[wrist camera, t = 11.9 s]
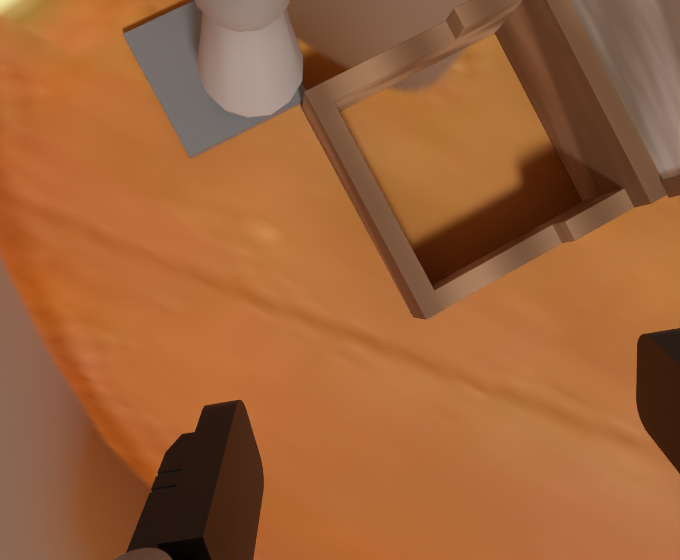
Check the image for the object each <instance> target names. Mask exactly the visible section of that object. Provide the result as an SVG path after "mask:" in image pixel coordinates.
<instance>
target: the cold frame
mask: <svg viewBox="0 0 680 560" xmlns="http://www.w3.org/2000/svg"><path fill="white" fill-rule="evenodd" d="M494 33H495V34H496V36H497V38H498V40H499V42H500V44H501V46H502V48H503V49H504V51H505V53H506V55H507V57H508V59H509V61H510V63H511V65H512V67H513V69H514V71H515V73H516V74H517V76H518V78H519V80H520V82H521V84H522V86H523V88H524V90H525V92H526V94H527V96H528V98H529V99H530V101H531V103H532V105H533V107H534V109H535V111H536V113H537V115H538V117H539V119H540V121H541V123H542V124H543V126H544V128H545V130H546V132H547V134H548V136H549V138H550V140H551V142H552V144H553V146H554V148H555V149H556V151H557V153H558V155H559V157H560V159H561V161H562V163H563V165H564V167H565V169H566V171H567V173H568V174H569V176H570V178H571V180H572V182H573V184H574V186H575V188H576V190H577V192H578V194H579V196H580V198H581V200H582V201H581V202H580V203H578V204H576V205H574V206H572V207H571V208H569V209H567V210H565V211H563V212H562V213H560V214H558V215H556V216H554V217H553V218H551V219H549V220H547V221H545V222H544V223H542V224H540V225H538V226H537V227H535V228H533V229H531V230H529V231H528V232H526V233H524V234H522V235H520V236H519V237H517V238H515V239H513V240H511V241H510V242H508V243H506V244H504V245H502V246H501V247H499V248H497V249H495V250H493V251H492V252H490V253H488V254H486V255H484V256H483V257H481V258H479V259H477V260H475V261H474V262H472V263H470V264H468V265H466V266H465V267H463V268H461V269H459V270H457V271H456V272H454V273H452V274H450V275H448V276H447V277H445V278H443V279H441V280H439V281H438V282H436V283H434V284H432V285H431V283H430V281H429V279H428V277H427V276H426V274H425V272H424V270H423V268H422V266H421V264H420V262H419V261H418V259H417V257H416V255H415V253H414V251H413V249H412V247H411V246H410V244H409V242H408V240H407V238H406V236H405V234H404V232H403V231H402V229H401V227H400V225H399V223H398V221H397V219H396V217H395V216H394V214H393V212H392V210H391V208H390V206H389V204H388V202H387V201H386V199H385V197H384V195H383V193H382V191H381V189H380V187H379V186H378V184H377V182H376V180H375V178H374V176H373V174H372V172H371V171H370V169H369V167H368V165H367V163H366V161H365V159H364V157H363V156H362V154H361V152H360V150H359V148H358V146H357V144H356V142H355V141H354V139H353V137H352V135H351V133H350V131H349V129H348V127H347V126H346V124H345V122H344V120H343V118H342V116H341V114H340V111H342V110H344V109H346V108H348V107H350V106H352V105H354V104H356V103H358V102H360V101H362V100H364V99H366V98H368V97H370V96H372V95H374V94H375V93H377V92H379V91H381V90H383V89H385V88H387V87H389V86H391V85H393V84H395V83H397V82H399V81H401V80H403V79H405V78H407V77H409V76H411V75H413V74H415V73H417V72H419V71H421V70H422V69H425V68H427V67H429V66H431V65H433V64H435V63H437V62H439V61H440V60H442V59H444V58H446V57H448V56H450V55H452V54H454V53H456V52H458V51H460V50H462V49H464V48H466V47H468V46H470V45H472V44H474V43H476V42H478V41H480V40H482V39H484V38H486V37H488V36H490V35H492V34H494ZM302 110H303V112H304V114H305V116H306V117H307V119H308V121H309V123H310V125H311V127H312V129H313V131H314V132H315V134H316V136H317V138H318V140H319V142H320V144H321V145H322V147H323V149H324V151H325V153H326V155H327V157H328V159H329V160H330V162H331V164H332V166H333V168H334V170H335V172H336V173H337V175H338V177H339V179H340V181H341V183H342V185H343V187H344V188H345V190H346V192H347V194H348V196H349V198H350V200H351V201H352V203H353V205H354V207H355V209H356V211H357V213H358V215H359V216H360V218H361V220H362V222H363V224H364V226H365V228H366V229H367V231H368V233H369V235H370V237H371V239H372V241H373V243H374V244H375V246H376V248H377V250H378V252H379V254H380V256H381V257H382V259H383V261H384V263H385V265H386V267H387V269H388V271H389V272H390V274H391V276H392V278H393V280H394V282H395V284H396V285H397V287H398V289H399V291H400V293H401V295H402V297H403V299H404V300H405V302H406V304H407V306H408V308H409V310H410V312H411V313H412V315H413V317H415V318H421V319H428V318H430V317H431V316H433V315H435V314H437V313H439V312H440V311H442V310H444V309H446V308H447V307H449V306H451V305H453V304H455V303H456V302H458V301H460V300H462V299H463V298H465V297H467V296H469V295H471V294H472V293H474V292H476V291H478V290H479V289H481V288H483V287H485V286H486V285H488V284H490V283H492V282H494V281H495V280H497V279H499V278H501V277H502V276H504V275H506V274H508V273H510V272H511V271H513V270H515V269H517V268H518V267H520V266H522V265H524V264H526V263H527V262H529V261H531V260H533V259H534V258H536V257H538V256H540V255H542V254H543V253H545V252H547V251H549V250H550V249H552V248H554V247H556V246H557V245H559V244H561V243H565V242H571V241H576V240H577V239H579V238H581V237H583V236H584V235H586V234H588V233H590V232H592V231H593V230H595V229H597V228H599V227H600V226H602V225H604V224H606V223H607V222H609V221H611V220H613V219H615V218H616V217H618V216H620V215H622V214H623V213H625V212H627V211H629V210H630V209H632V208H634V207H638V206H642V205H647V204H651V203H653V202H655V201H656V200H658V199H660V198H662V197H663V196H665V195H668V197H669V198H670V197H674V196H678V195H680V0H469V1H467V2H465V3H464V4H462V5H459V6H457V7H455V8H454V9H453V11H452V12H451V14H450V15H449V17H448V18H447V20H446V21H445V22H443V23H441V24H439V25H437V26H435V27H433V28H431V29H429V30H427V31H425V32H423V33H421V34H419V35H417V36H415V37H413V38H411V39H409V40H407V41H405V42H403V43H401V44H399V45H397V46H395V47H393V48H391V49H389V50H387V51H385V52H383V53H381V54H379V55H377V56H375V57H373V58H371V59H369V60H367V61H365V62H363V63H361V64H359V65H357V66H355V67H353V68H351V69H349V70H347V71H345V72H343V73H341V74H339V75H337V76H335V77H333V78H331V79H329V80H327V81H325V82H323V83H321V84H319V85H317V86H315V87H313V88H311V89H309V90H307V91H305V92H304V97H303V104H302Z"/></svg>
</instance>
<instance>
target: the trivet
mask: <svg viewBox="0 0 680 560" xmlns="http://www.w3.org/2000/svg"><path fill="white" fill-rule="evenodd" d="M202 13H203V12H202V11H201V10H200V9H199V8H198V7H197V5H196V2H195V0H194V1H192V2H190V3H188V4H185V5H183V6H181V7H179V8H177V9H175V10H173V11H170V12H168V13H166V14H164V15H162V16H160V17H158V18H156V19H153V20H151V21H149V22H147V23H145V24H143V25H141V26H139V27H136V28H134V29H132V30H130V31H128V32H126V33H124V34H123V36H124V37H125V39H126V41H127V43H128V45H129V47H130V48H131V50H132V52H133V54H134V56H135V58H136V60H137V61H138V63H139V65H140V67H141V69H142V71H143V72H144V74H145V76H146V78H147V80H148V82H149V83H150V85H151V87H152V89H153V91H154V93H155V94H156V96H157V98H158V100H159V102H160V104H161V105H162V107H163V109H164V111H165V113H166V115H167V116H168V118H169V120H170V122H171V124H172V126H173V127H174V129H175V131H176V133H177V135H178V137H179V138H180V140H181V142H182V144H183V146H184V148H185V149H186V151H187V153H188V155H189V157H190V158H193V157H195V156H197V155H199V154H201V153H203V152H205V151H207V150H209V149H211V148H213V147H215V146H217V145H219V144H221V143H223V142H225V141H227V140H229V139H231V138H233V137H235V136H237V135H239V134H241V133H243V132H245V131H247V130H249V129H251V128H253V127H255V126H257V125H259V124H261V123H263V122H265V121H267V120H269V119H271V118H273V117H275V116H277V115H279V114H281V113H283V112H285V111H287V110H289V109H291V108H293V107H295V106H297V105H299V104H301V103H303V97H304V92H305V91H307V90H306V88H305V86H304V84H303V82H301V84H300V86H299V87H298V89H297V91H296V92H295V94H294V95H293V97H292V99H291V100H290V102H289V103H287V104H286V105H285V106H283V107H282V108H280V109H279V110H277V111H276V112H275V113H273V114H272V115H268V116H259V117H250V118H247V117H244V116H241V115H237V114H234V113H231V112H227V111H225V110H224V109H223V108H222V107H221V106H220V105H219V104H218V103H217V102H216V101H215V100H213V99H212V98H211V97H210V96H209V95H208V94H207V93H206V90H205V88H204V86H203V83H202V81H201V78H200V76H199V74H198V71H197V65H198V51H199V42H200V34H201V24H202Z"/></svg>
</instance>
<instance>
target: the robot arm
mask: <svg viewBox="0 0 680 560" xmlns="http://www.w3.org/2000/svg"><path fill="white" fill-rule="evenodd" d="M636 402H637V409H638V413H639V416H640V419H641V422H642V424H643V426H644V428H645V429H646V431H647V432H648V434H649V435H650V436H651V438H652V439H653V440H654V441H655V443H656V444H657V445H658V447H659V448H660V449H661V450H662V452H663V453H664V454H665V455H666V457H667V458H668V459H669V461H670V462H671V463H672V464H673V466H674V467H675V468H676V469H677V471H678V472H679V473H680V328H678V329H672V330H666V331H660V332H654V333H647V334H642V335H641V336H640V337H639V339H638V343H637V386H636ZM263 489H264V476H263V467H262V462H261V457H260V454H259V451H258V447H257V444H256V441H255V437H254V434H253V431H252V427H251V424H250V421H249V417H248V414H247V411H246V408H245V405H244V403H243V402H242V401H241V400H235V401H229V402H223V403H217V404H211V405H206V406H204V408H203V410H202V413H201V416H200V419H199V421H198V424H197V427H196V430H195V432H192V433H186V434H182V435H181V436H180V437H179V438H178V439H177V440H176V441H175V443H174V444H173V445H172V446H171V447H170V448H169V449H168V450H167V452H166V453H165V455H164V458H163V460H162V463H161V465H160V468H159V471H158V476H156V478H155V481H154V483H153V486H152V488H151V490H152V493H150V494H149V496H148V499H147V501H146V504H145V506H144V509H143V511H142V514H141V517H140V519H139V521H138V524H137V527H136V529H135V532H134V534H133V537H132V539H131V542H130V544H129V547H128V550H127V552H126V553H125V554H123V555H121V556H119V557H117V558H115V559H114V560H253V557H254V550H255V543H256V537H257V530H258V523H259V516H260V510H261V503H262V496H263Z"/></svg>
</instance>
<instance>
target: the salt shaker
mask: <svg viewBox="0 0 680 560" xmlns="http://www.w3.org/2000/svg"><path fill="white" fill-rule="evenodd" d="M195 2H196V5H197V7H198V8H199V9H200V10H201V11H202V12H203V13H202V24H201V34H200V42H199V51H198V65H197V71H198V74H199V76H200V78H201V81H202V83H203V86H204V88H205V90H206V93H207V94H208V95H209V96H210V97H211V98H212V99H213V100H215V101H216V102H217V103H218V104H219V105H220V106H221V107H222V108H223V109H224V110H225V111H227V112H231V113H234V114H237V115H241V116H244V117H247V118H250V117H259V116H268V115H272V114H273V113H275V112H276V111H277V110H279V109H280V108H282V107H283V106H285V105H286V104H287V103H289V102H290V100H291V99H292V97H293V95H294V94H295V92H296V91H297V89H298V87H299V86H300V84H301V82H302V78H303V55H302V53H301V50H300V47H299V44H298V42H297V39H296V36H295V34H294V31H293V28H292V25H291V22H290V19H289V16H288V12H287V9H286V7H287V5H288V4H289V2H290V0H195Z"/></svg>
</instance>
